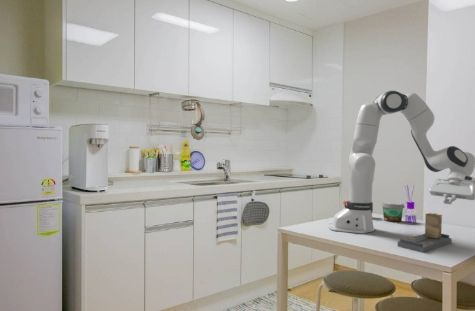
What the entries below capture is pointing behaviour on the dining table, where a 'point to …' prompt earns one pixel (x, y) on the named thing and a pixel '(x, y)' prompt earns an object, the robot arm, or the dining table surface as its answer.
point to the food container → (392, 212)
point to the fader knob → (433, 225)
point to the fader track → (424, 242)
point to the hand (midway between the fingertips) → (446, 203)
